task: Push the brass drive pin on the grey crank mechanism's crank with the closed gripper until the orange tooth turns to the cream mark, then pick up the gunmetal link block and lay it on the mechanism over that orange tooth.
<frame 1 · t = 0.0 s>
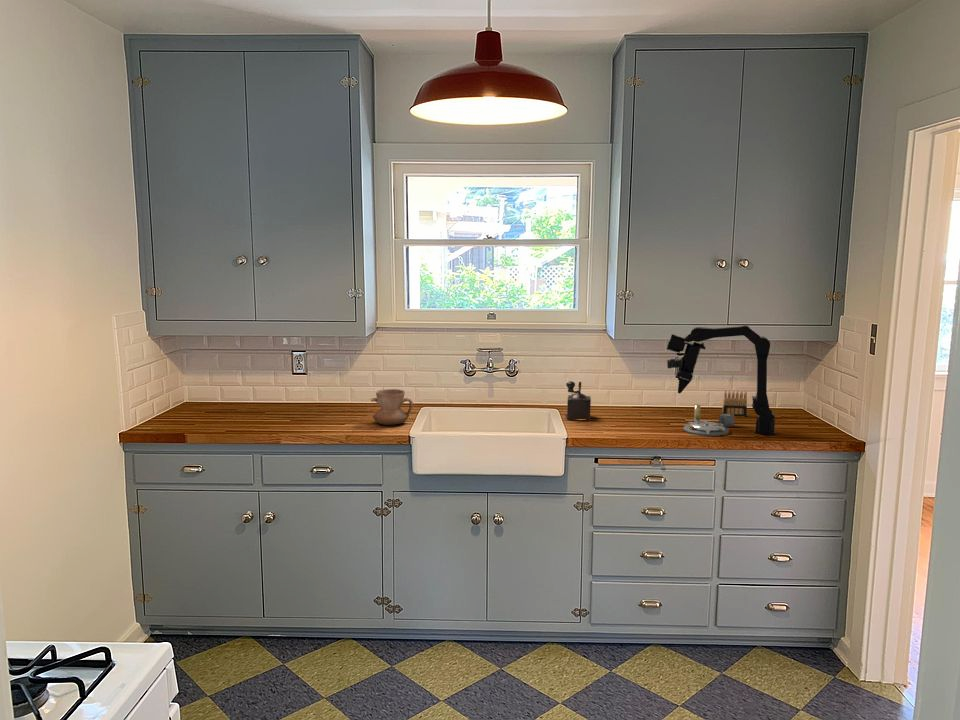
hand: (679, 391, 294), 15 cm above the table, tool pointing down, fingers open, 9 cm apart
link block: (726, 426, 298), on the table
grey crank mechanism: (704, 418, 291), point 5 cm above the table, hinge at 0.0°
ammunition clip: (734, 416, 318), on the table
index plate: (706, 430, 290), on the table
ceramic jug: (392, 424, 300), on the table
pepper mill: (577, 419, 310), on the table
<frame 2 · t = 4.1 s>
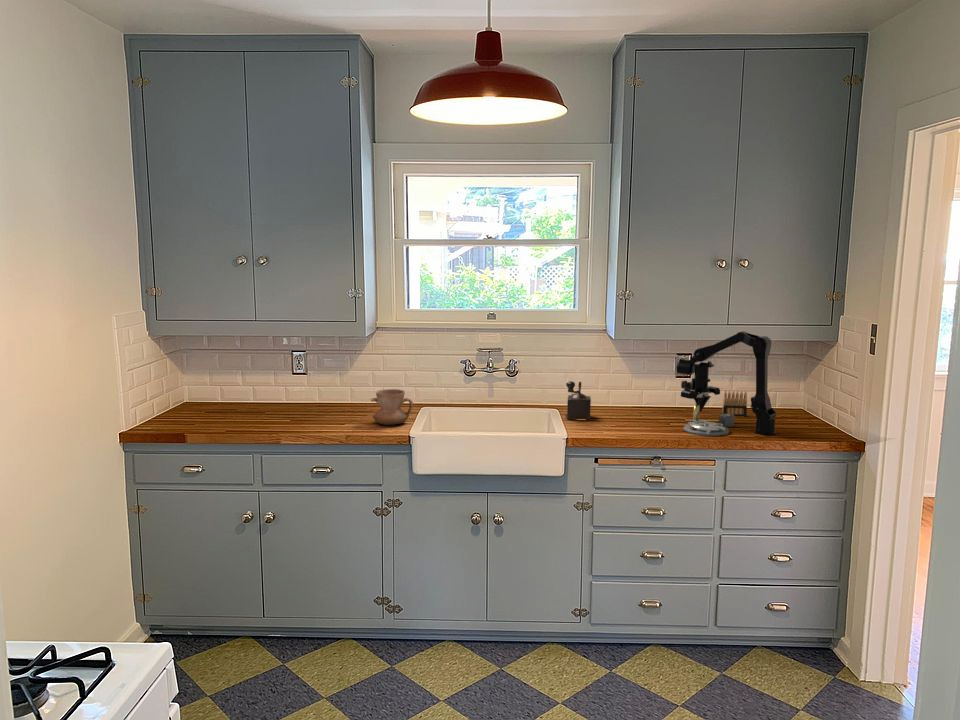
hand: (699, 411, 303), 5 cm above the table, tool pointing down, fingers closed
grey crank mechanism: (704, 418, 291), point 5 cm above the table, hinge at 2.1°, touching gripper
everything else where it was.
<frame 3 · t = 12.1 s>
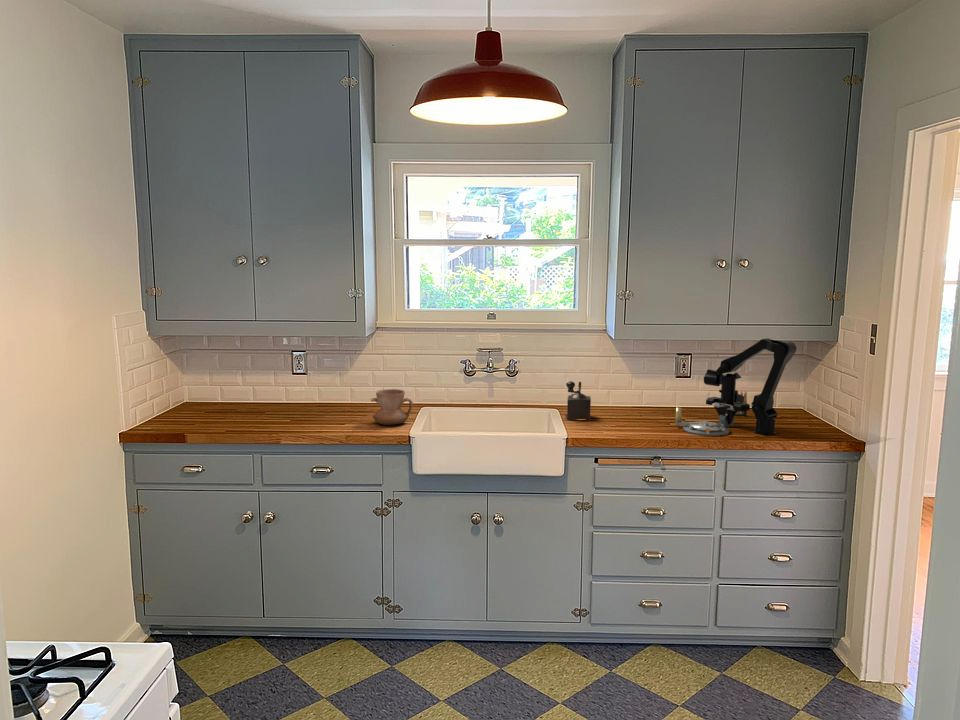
hand: (726, 423, 298), 1 cm above the table, tool pointing down, fingers closed on link block, 3 cm apart
link block: (726, 426, 298), on the table, touching gripper
grey crank mechanism: (700, 418, 290), point 5 cm above the table, hinge at 59.7°
everything else where it was.
when the fingers open (5 cm above the table, at t = 16.2 s): link block drops 1 cm, resting on grey crank mechanism.
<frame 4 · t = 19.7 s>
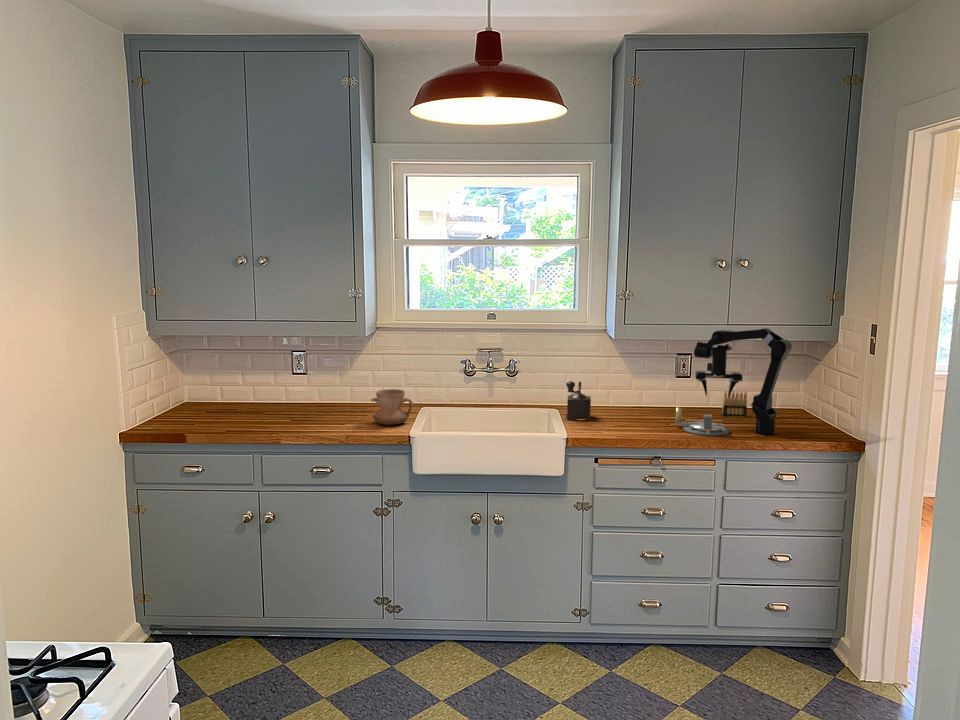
hand: (717, 395, 297), 13 cm above the table, tool pointing down, fingers open, 9 cm apart
link block: (707, 427, 285), point 2 cm above the table, touching grey crank mechanism
grey crank mechanism: (700, 418, 290), point 5 cm above the table, hinge at 59.7°, touching link block
everything else where it was.
at the end: grey crank mechanism at +60° (first picture: +0°); link block 0.1 cm from the target spot on the index plate, point 2.5 cm above the index plate's base; link block tilted 0° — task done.
